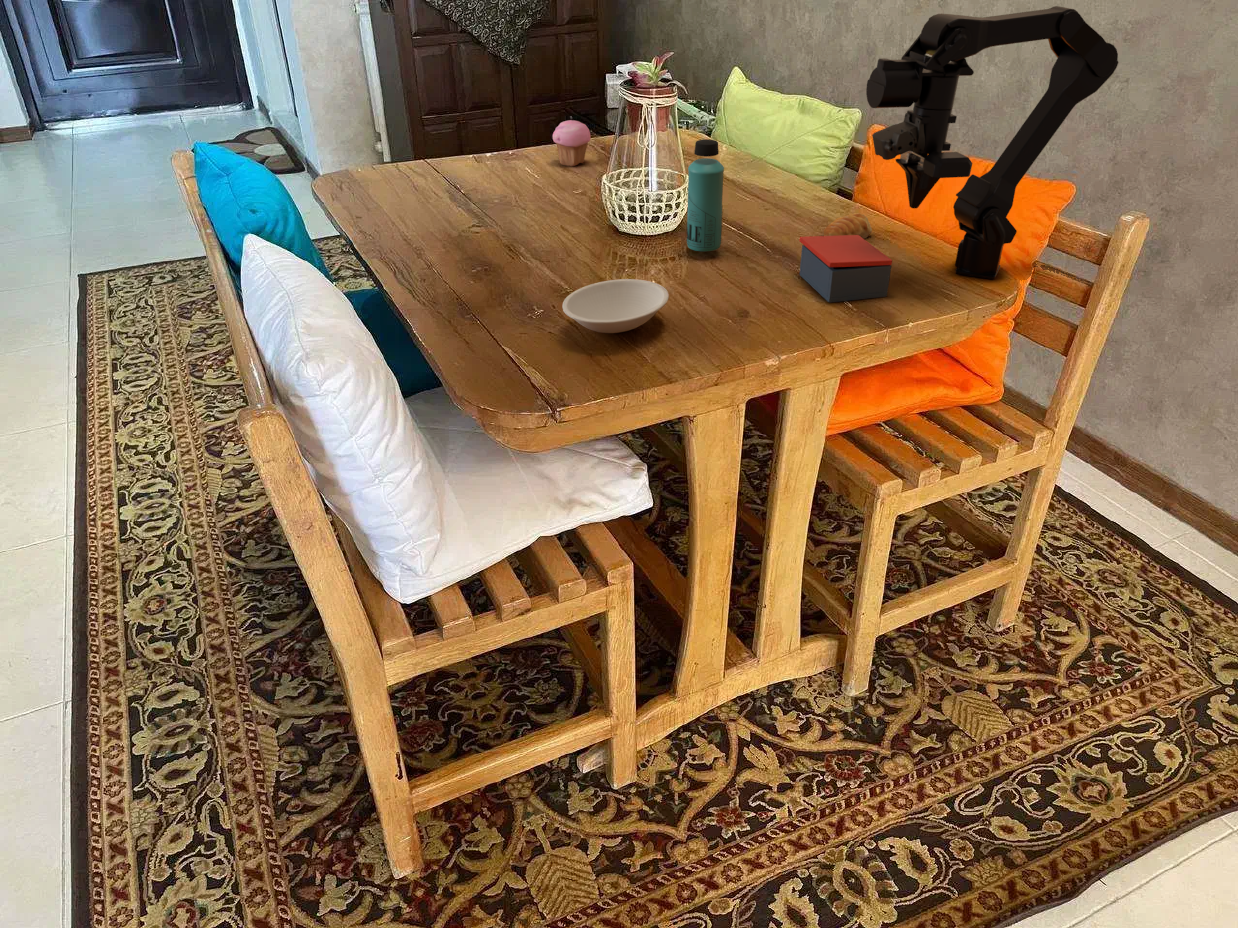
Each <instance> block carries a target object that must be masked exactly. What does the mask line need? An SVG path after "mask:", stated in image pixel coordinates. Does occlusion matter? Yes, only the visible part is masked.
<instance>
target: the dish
mask: <svg viewBox="0 0 1238 928" xmlns="http://www.w3.org/2000/svg"><path fill="white" fill-rule="evenodd" d="M669 298H670V295H669V291H668V290H667V289H666V288H665V287H664V286H663V285H660V284H659V283H656V282H653V281H650V280H645V279H635V278H619V279H610V280H603V281H599V282H595V283H591V284H588V285H585V286H583V287H580V288H578V289H576V290H574V291H573V292H571V293H570V294H569V295H567V296H566V297H565V298H564V300H563V302H562V311H563V313H564V314H565V315H566V316H567V317H568V318H570V319H573V320H574V321H575V322H576V323H577V324H579V325H580V326H582V327H584V328H586V329H588V330H591V331H593V332H597V333H603V334H618V333H624V332H628V331H631V330H634V329H636V328H638V327H641V326H642V325H644V324H645V323H647V322H648V321H649V320H650V319H652V318H653V317H655V315H656V314H657V313H658V311H659V310H661V309H662V308H664V307H665V305H666V304H667V303H668V301H669Z"/></svg>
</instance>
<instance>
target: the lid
mask: <svg viewBox="0 0 1238 928" xmlns="http://www.w3.org/2000/svg"><path fill="white" fill-rule="evenodd" d="M798 241H799V243H801V244H802V245H804V246H806V247H807V248H808V249H809V250H810V251H811V252H812V253H814V254H815V255H816V256H817V257H818V258H819V259H821V260H822V261H823V262H824V263H825V264H826V265H827V266H829V267H853V266H879V265H891V266H892V264H893V259H891V258H889V256H887V255H886V254H885V253H883V252H882V251H880V250H879V249H878V248H876V247H875V246H874V245H873V244H871V243H870V242H868V241H867V240H866V239H865V238H862V237H860V236H859V235H842V236H824V235H814V236H813V235H811V236H809V235H807V236H799V240H798Z"/></svg>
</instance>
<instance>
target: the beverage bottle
mask: <svg viewBox="0 0 1238 928" xmlns="http://www.w3.org/2000/svg"><path fill="white" fill-rule="evenodd" d="M693 152H694V155H695V156H698V157H703V158H698V159H695V160H693V162H691V163H690V164H689V165H688V168H687V171H688V176H687V177H688V179H687V188H686V192H687V193H686V194H687V195H686V196H687V197H686V200H687V213H686V217H687V218H686V229H685V230H686V232H685V234H686V242H685V243H686V245H687V248H688V249H690V250H692V251H696V252H712V251H717V250H719V249H720V248H721V244H722V242H723V239H722V237H723V233H722V232H723V210H724V208H723V207H724V206H723V205H724V204H723V195H724V192H723V191H724V173H725V172H724V171H725V167H724V165H723V164H722V163H721V162H720V161H719V160H717V159H715V158H711V157H715V156H718V155H719V152H720V151H719V142H718V141H717V140H715V139H708V138H705V139H699V140H696V141H695V143H694V151H693ZM704 157H705V158H704ZM707 157H710V158H707Z"/></svg>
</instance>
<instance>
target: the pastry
mask: <svg viewBox="0 0 1238 928" xmlns="http://www.w3.org/2000/svg"><path fill="white" fill-rule="evenodd" d="M872 233H873V228H872V225H871V223H870V221H869V217H868V216H867V215H865V214H864V213H861V212H857V213H854V212H851V213H850V214H849V215H848V214H847V215H844V216H838V217H837V218H835V219H834V220H833V221H832V222H831V223H829V224H828V225H827V226H826V227H825V228H824V230H823V236H842V235H859V236H860V237H862V238H863V239H867V238H868V237H869V236H870V235H871V234H872Z"/></svg>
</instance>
